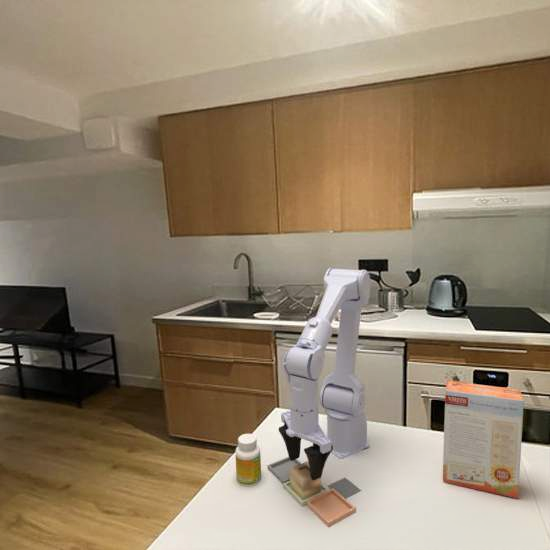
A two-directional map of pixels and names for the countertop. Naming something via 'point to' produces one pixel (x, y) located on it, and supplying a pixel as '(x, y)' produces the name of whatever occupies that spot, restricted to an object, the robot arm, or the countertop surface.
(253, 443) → the supplement bottle
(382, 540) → the countertop surface
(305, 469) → the letter cube
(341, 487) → the slate mat
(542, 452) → the countertop surface
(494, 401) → the cracker box
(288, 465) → the charcoal dish
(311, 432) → the robot arm
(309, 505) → the terracotta dish
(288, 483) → the sage dish
